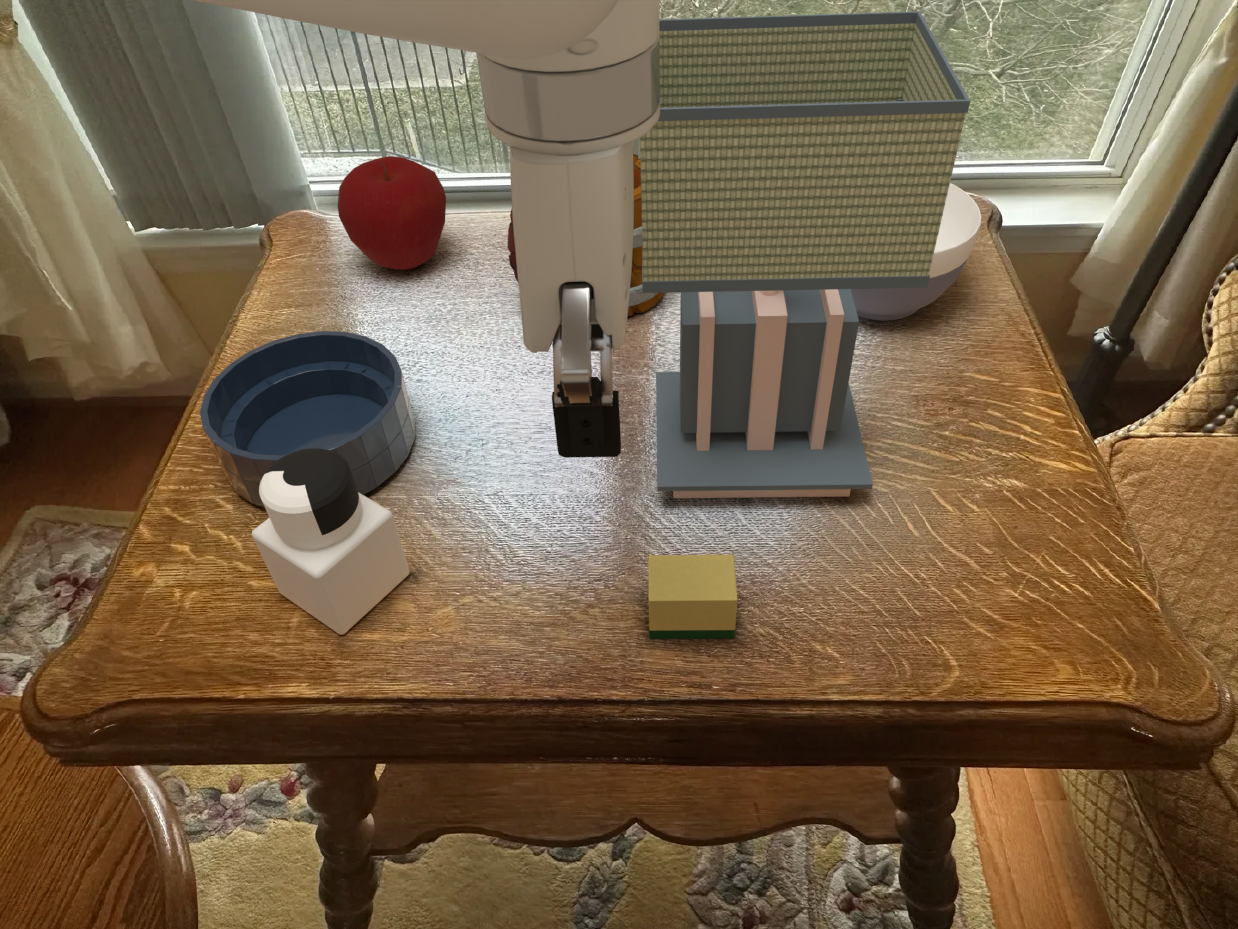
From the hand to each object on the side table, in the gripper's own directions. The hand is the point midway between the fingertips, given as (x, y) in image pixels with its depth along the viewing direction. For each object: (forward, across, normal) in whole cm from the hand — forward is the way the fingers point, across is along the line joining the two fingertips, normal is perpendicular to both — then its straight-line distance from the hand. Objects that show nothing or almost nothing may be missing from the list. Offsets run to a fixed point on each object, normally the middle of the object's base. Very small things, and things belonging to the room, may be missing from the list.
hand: (593, 391), depth 52 cm
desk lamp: (+22, -19, +12) cm, 31 cm away
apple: (+22, -48, -24) cm, 58 cm away
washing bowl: (+22, -19, -26) cm, 39 cm away
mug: (+22, -41, -3) cm, 47 cm away
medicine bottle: (+22, -4, -20) cm, 31 cm away
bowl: (+22, -40, +26) cm, 53 cm away
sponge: (+22, -1, +6) cm, 23 cm away
